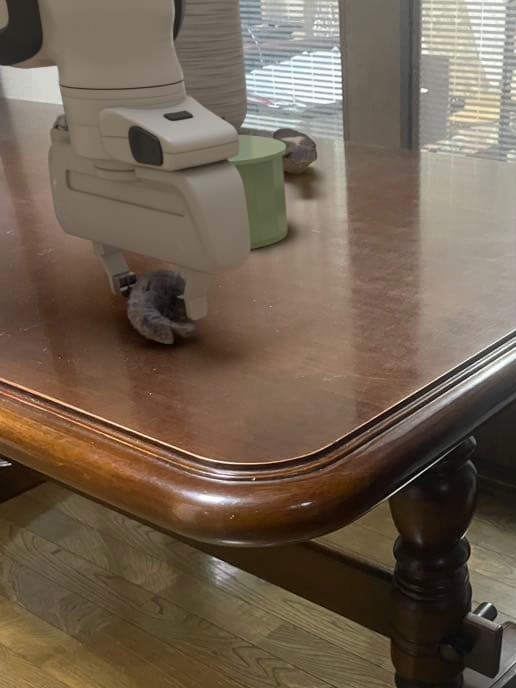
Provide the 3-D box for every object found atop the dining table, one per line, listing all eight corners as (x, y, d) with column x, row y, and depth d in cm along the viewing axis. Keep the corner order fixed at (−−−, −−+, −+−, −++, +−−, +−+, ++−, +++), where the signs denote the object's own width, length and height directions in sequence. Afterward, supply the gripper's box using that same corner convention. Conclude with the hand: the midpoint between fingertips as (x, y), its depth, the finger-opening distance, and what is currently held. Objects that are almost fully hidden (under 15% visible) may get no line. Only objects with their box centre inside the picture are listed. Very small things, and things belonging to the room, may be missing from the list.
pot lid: (118, 160, 92) (111, 117, 90) (222, 140, 102) (218, 101, 99) (212, 180, 85) (207, 134, 82) (315, 156, 94) (312, 114, 92)
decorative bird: (306, 158, 131) (304, 122, 128) (336, 198, 111) (334, 156, 108) (264, 160, 130) (261, 123, 127) (286, 201, 110) (283, 158, 107)
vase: (194, 159, 131) (159, -123, 112) (97, 145, 139) (48, -119, 120) (276, 137, 145) (257, -115, 126) (183, 126, 153) (152, -112, 134)
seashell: (179, 363, 71) (163, 325, 79) (213, 307, 70) (193, 274, 78) (118, 331, 68) (108, 294, 76) (152, 272, 67) (138, 240, 75)
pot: (138, 236, 97) (124, 154, 92) (230, 211, 106) (221, 135, 101) (222, 259, 90) (212, 172, 85) (312, 231, 99) (308, 150, 94)
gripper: (12, 116, 68) (53, 290, 76) (186, 147, 58) (212, 345, 66) (81, 106, 73) (113, 272, 80) (254, 133, 62) (271, 321, 70)
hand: (159, 305), depth 73 cm, fingers closed on seashell, 7 cm apart
